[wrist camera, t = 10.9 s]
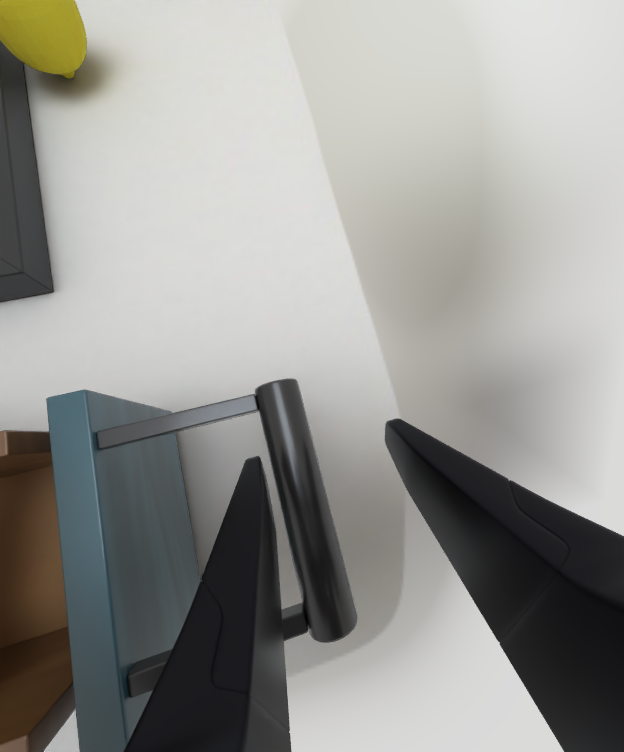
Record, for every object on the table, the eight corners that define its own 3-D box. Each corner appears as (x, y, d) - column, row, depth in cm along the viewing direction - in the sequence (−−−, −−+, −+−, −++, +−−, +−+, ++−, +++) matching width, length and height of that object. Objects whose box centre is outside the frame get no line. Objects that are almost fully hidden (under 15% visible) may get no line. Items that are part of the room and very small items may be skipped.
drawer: (285, 384, 18) (290, 342, 10) (329, 563, 16) (376, 677, 8) (-79, 470, 15) (-461, 502, 7) (-75, 701, 13) (-580, 1073, 6)
